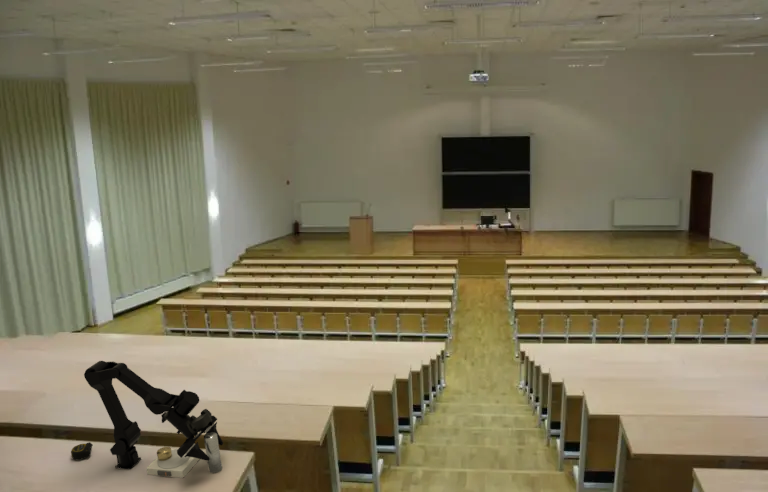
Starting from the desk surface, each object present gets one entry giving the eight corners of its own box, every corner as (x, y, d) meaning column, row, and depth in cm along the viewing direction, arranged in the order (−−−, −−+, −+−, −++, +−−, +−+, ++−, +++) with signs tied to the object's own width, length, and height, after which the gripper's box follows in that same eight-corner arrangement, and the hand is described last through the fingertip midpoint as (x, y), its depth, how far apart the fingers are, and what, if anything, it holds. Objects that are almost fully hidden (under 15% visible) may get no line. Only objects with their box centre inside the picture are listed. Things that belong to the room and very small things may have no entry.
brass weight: (155, 460, 209) (153, 454, 208) (163, 452, 213) (161, 446, 213) (167, 461, 207) (165, 455, 207) (174, 453, 212) (173, 447, 211)
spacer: (206, 472, 205) (201, 438, 202) (213, 464, 209) (207, 431, 206) (218, 473, 204) (212, 439, 201) (224, 465, 208) (219, 432, 205)
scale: (146, 475, 206) (145, 467, 205) (167, 454, 218) (166, 446, 217) (182, 478, 202) (180, 470, 202) (201, 457, 214) (200, 449, 213)
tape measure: (91, 459, 219) (89, 450, 218) (70, 463, 217) (68, 454, 216) (93, 449, 225) (91, 440, 225) (74, 453, 223) (72, 444, 223)
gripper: (179, 422, 193) (214, 454, 193) (208, 394, 210) (241, 423, 210) (162, 442, 197) (196, 473, 197) (192, 413, 214) (224, 442, 214)
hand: (215, 452), depth 204 cm, fingers open, 9 cm apart
